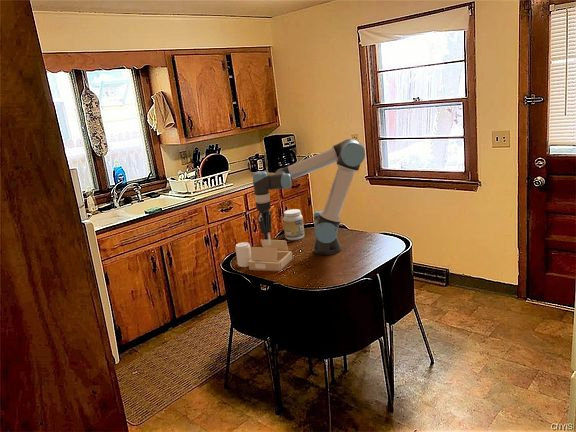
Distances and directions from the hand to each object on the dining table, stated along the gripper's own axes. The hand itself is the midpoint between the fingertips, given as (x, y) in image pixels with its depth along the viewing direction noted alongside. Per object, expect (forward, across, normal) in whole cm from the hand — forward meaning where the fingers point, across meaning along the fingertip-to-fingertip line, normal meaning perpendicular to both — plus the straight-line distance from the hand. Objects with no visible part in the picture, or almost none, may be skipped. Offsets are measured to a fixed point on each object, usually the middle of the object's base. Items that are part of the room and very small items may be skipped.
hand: (268, 244), depth 247 cm
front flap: (+3, +6, 0) cm, 7 cm away
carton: (+11, 0, 0) cm, 11 cm away
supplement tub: (+12, -44, -4) cm, 45 cm away
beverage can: (+12, +2, -14) cm, 19 cm away
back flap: (+3, -7, 0) cm, 7 cm away
